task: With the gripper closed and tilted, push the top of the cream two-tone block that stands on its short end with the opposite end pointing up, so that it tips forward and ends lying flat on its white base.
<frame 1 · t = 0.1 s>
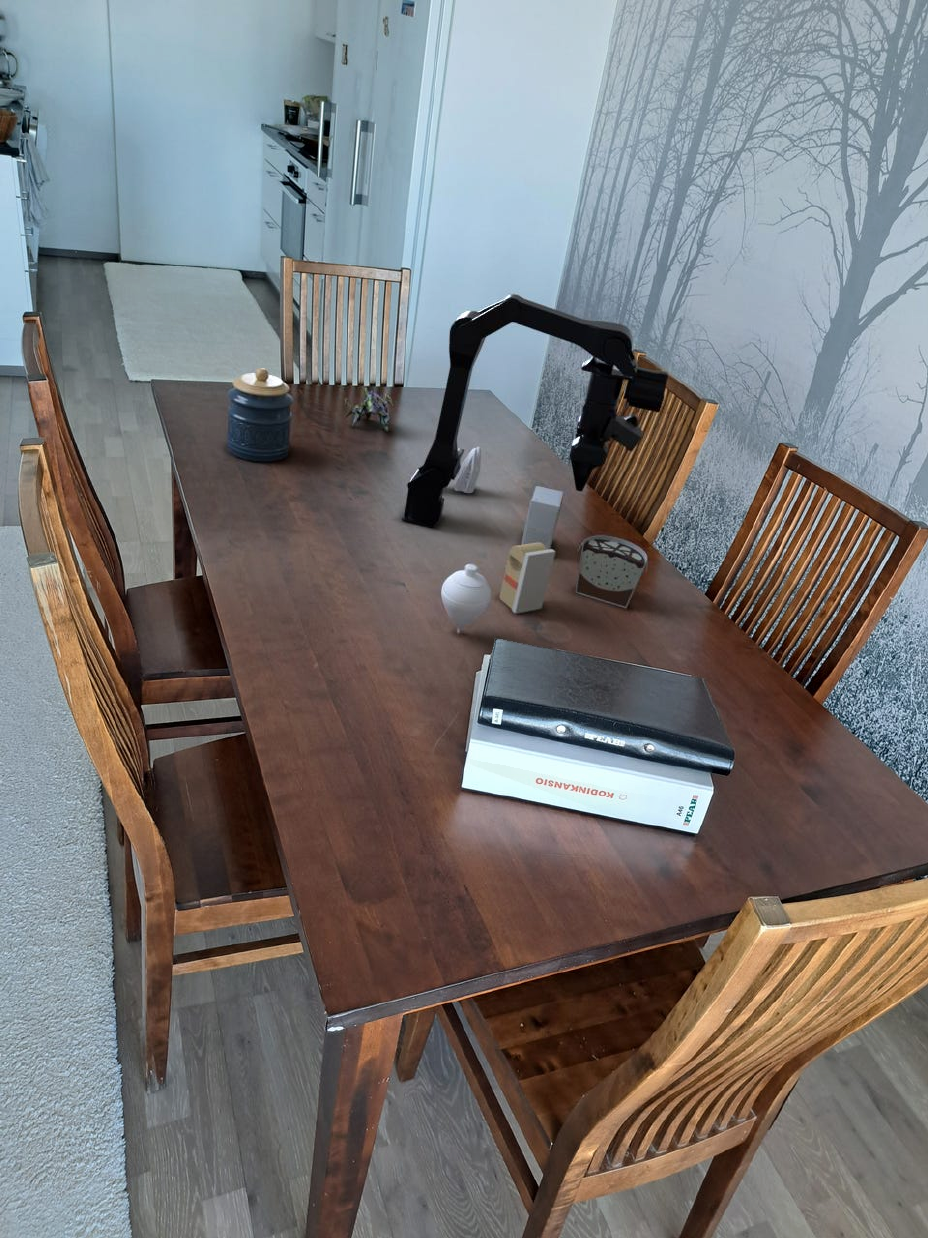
hand: (580, 481, 166), 15 cm above the table, tool pointing down, fingers open, 9 cm apart
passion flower: (367, 429, 214), on the table
spinning top: (458, 634, 142), on the table
shaker set: (448, 490, 190), on the table
canister: (257, 451, 191), on the table
small box: (536, 546, 174), on the table
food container: (603, 594, 162), on the table
cream two-tone block: (519, 603, 153), on the table
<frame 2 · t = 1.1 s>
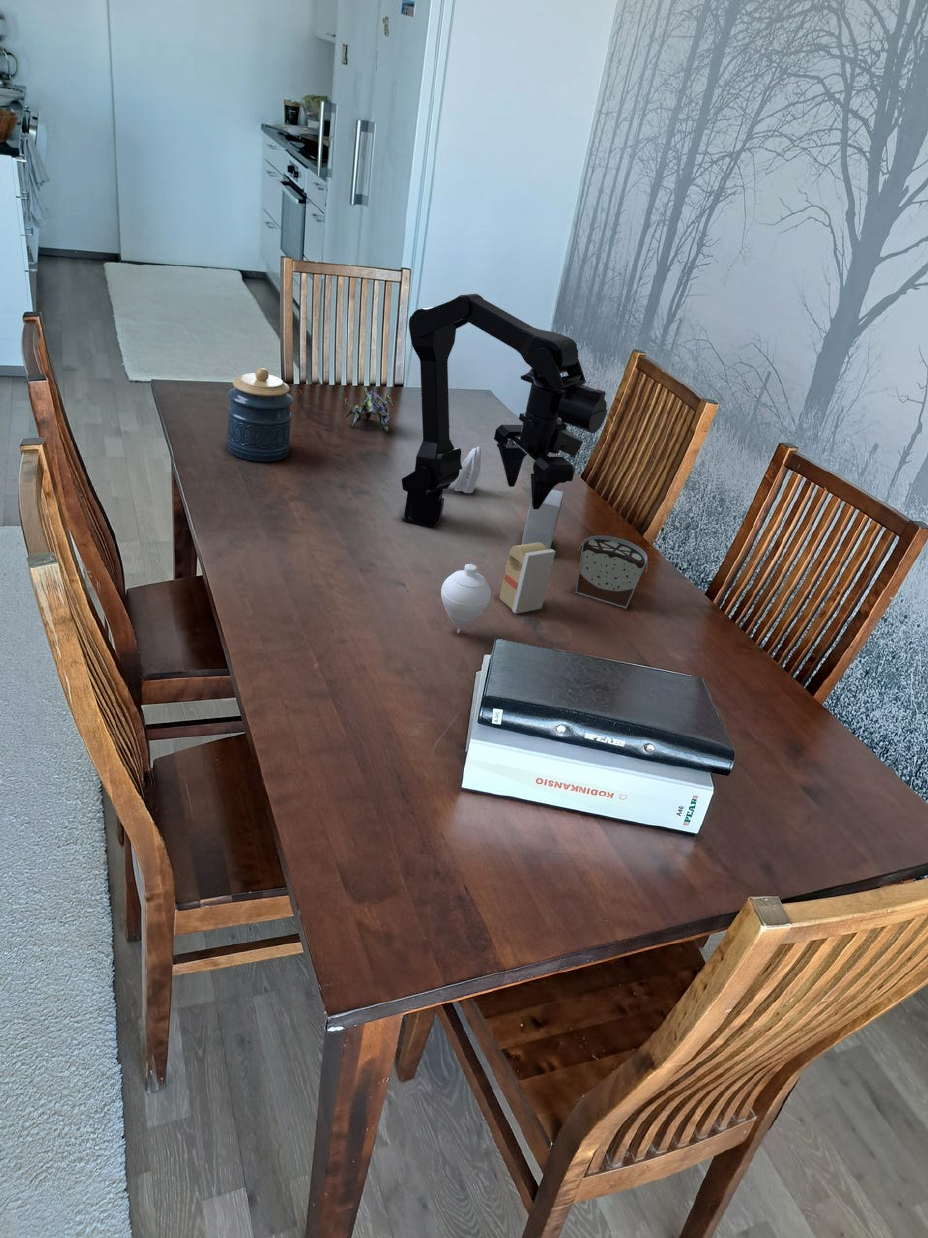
hand: (523, 497, 160), 13 cm above the table, tool pointing down, fingers open, 9 cm apart
nothing on the table moved.
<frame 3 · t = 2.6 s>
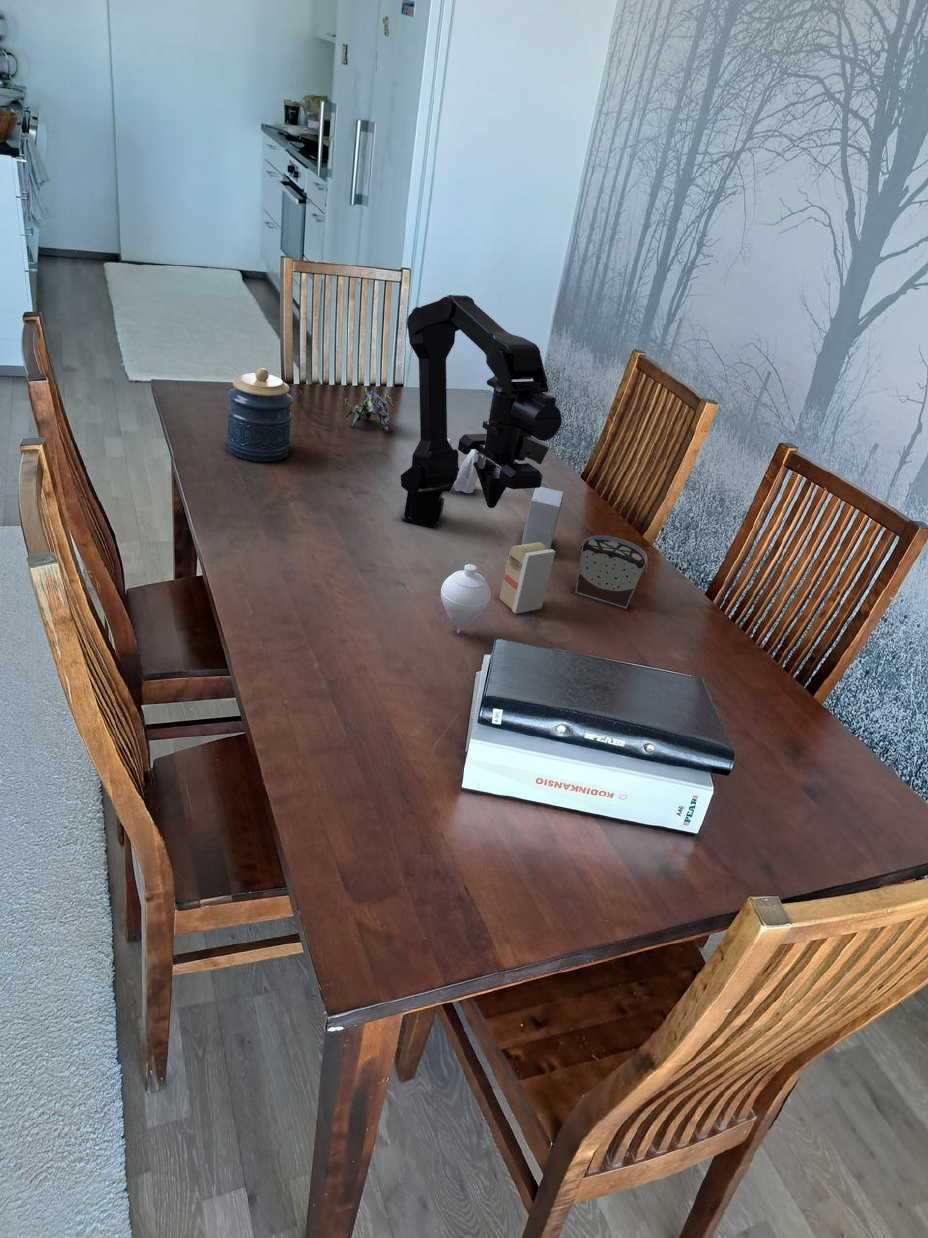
hand: (490, 507, 156), 12 cm above the table, tool pointing down, fingers closed
nothing on the table moved.
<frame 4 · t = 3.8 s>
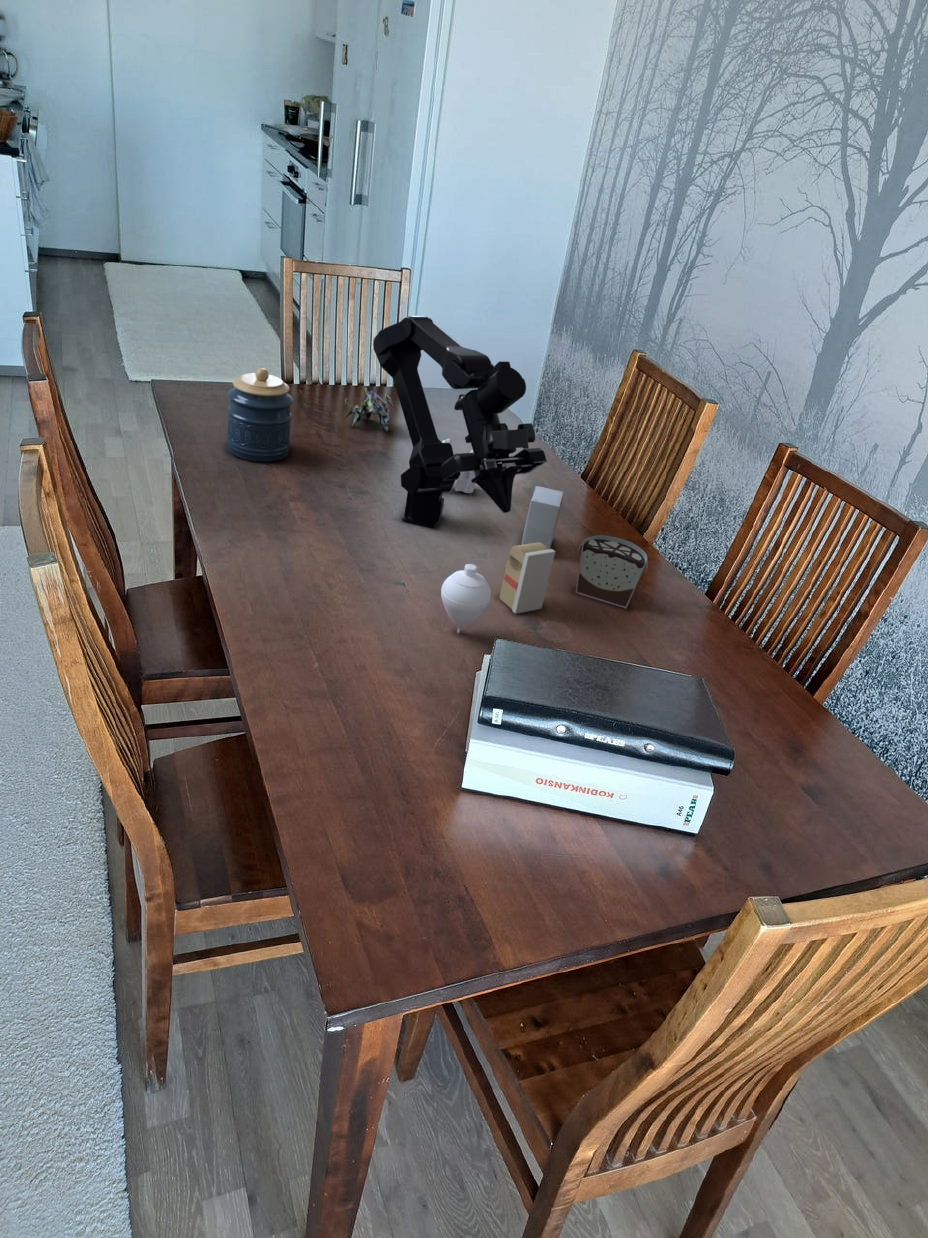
hand: (507, 512, 152), 13 cm above the table, tool tilted 45°, fingers closed
nothing on the table moved.
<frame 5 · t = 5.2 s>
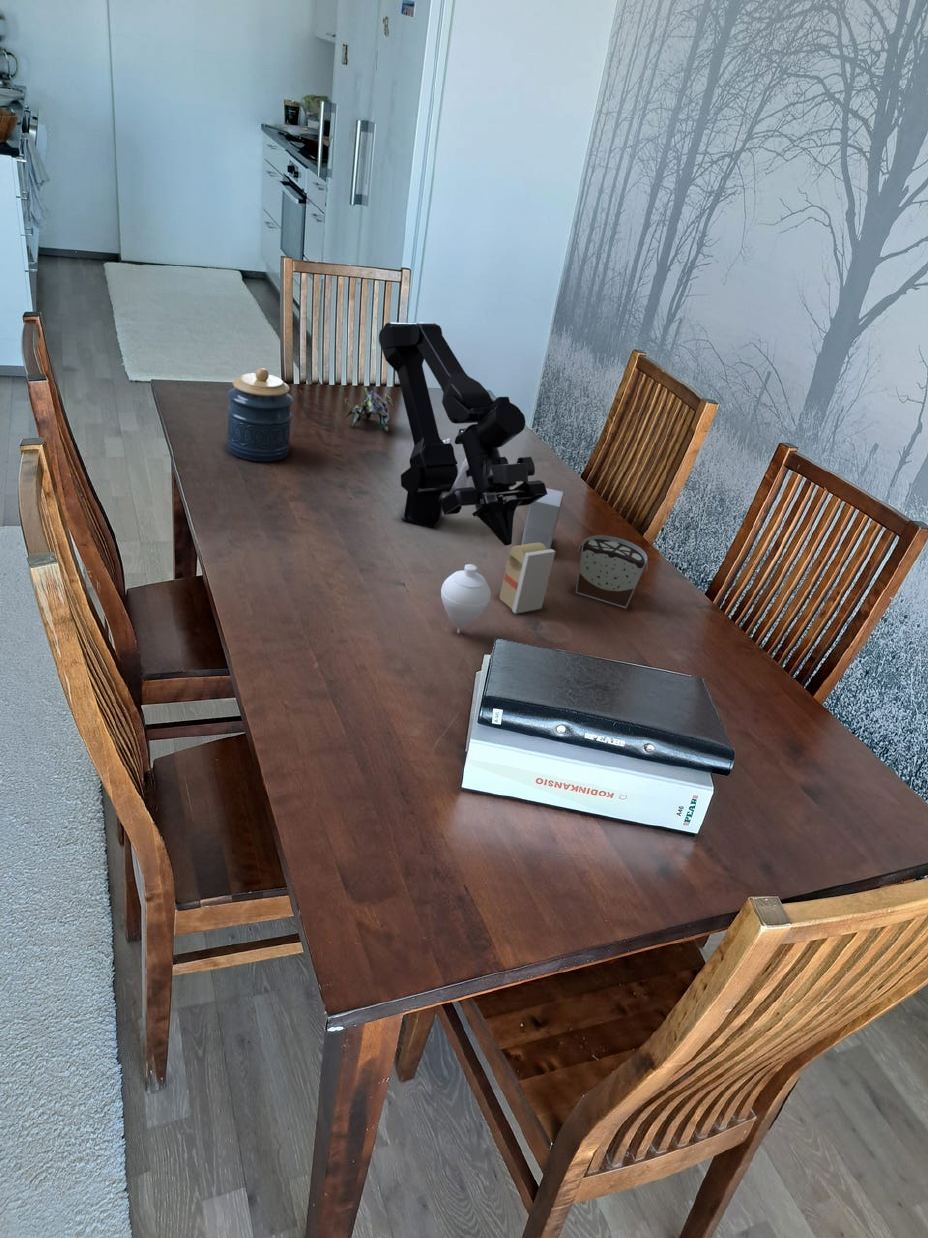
hand: (508, 544, 153), 8 cm above the table, tool tilted 45°, fingers closed
nothing on the table moved.
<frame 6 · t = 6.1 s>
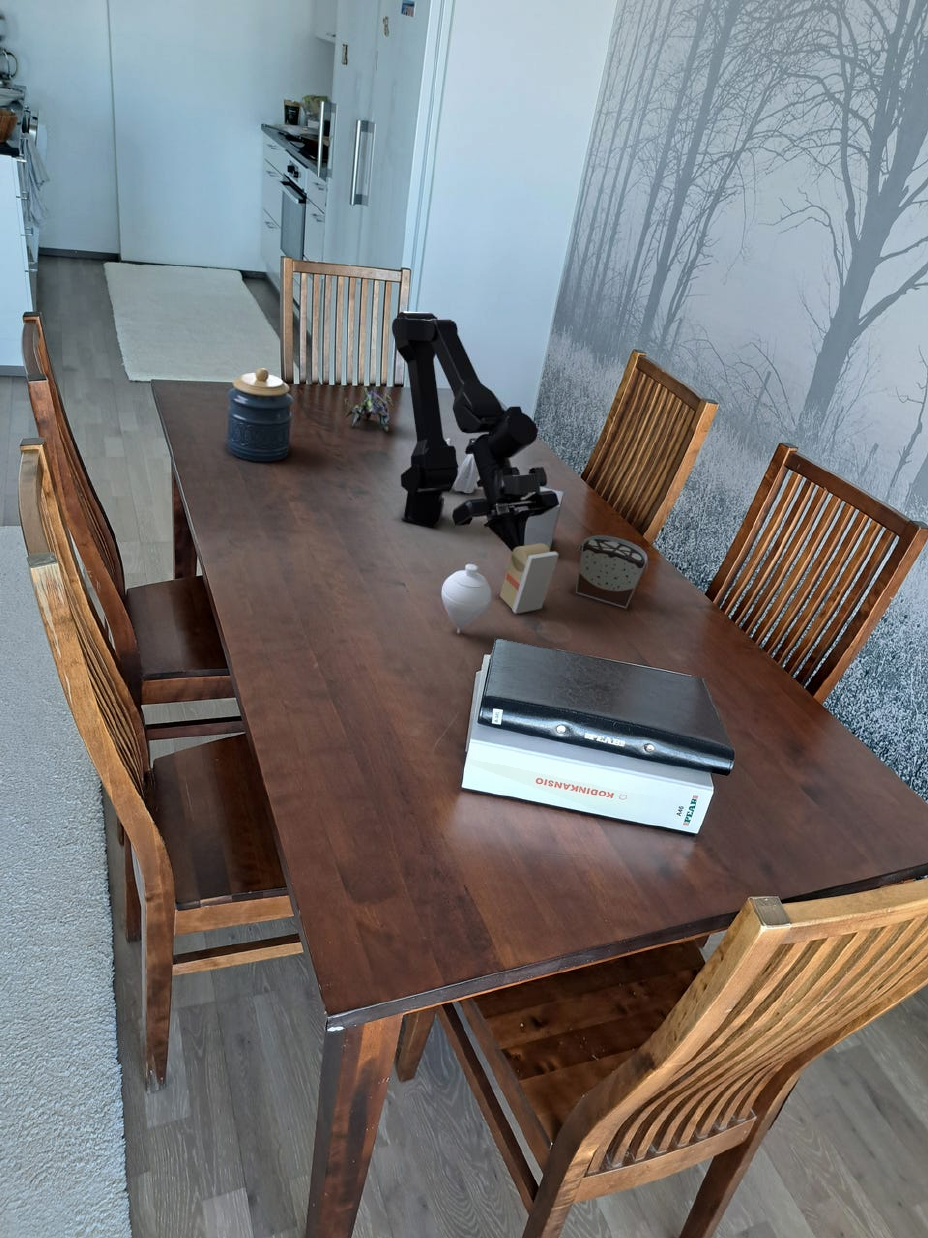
hand: (520, 556, 151), 8 cm above the table, tool tilted 45°, fingers closed
nothing on the table moved.
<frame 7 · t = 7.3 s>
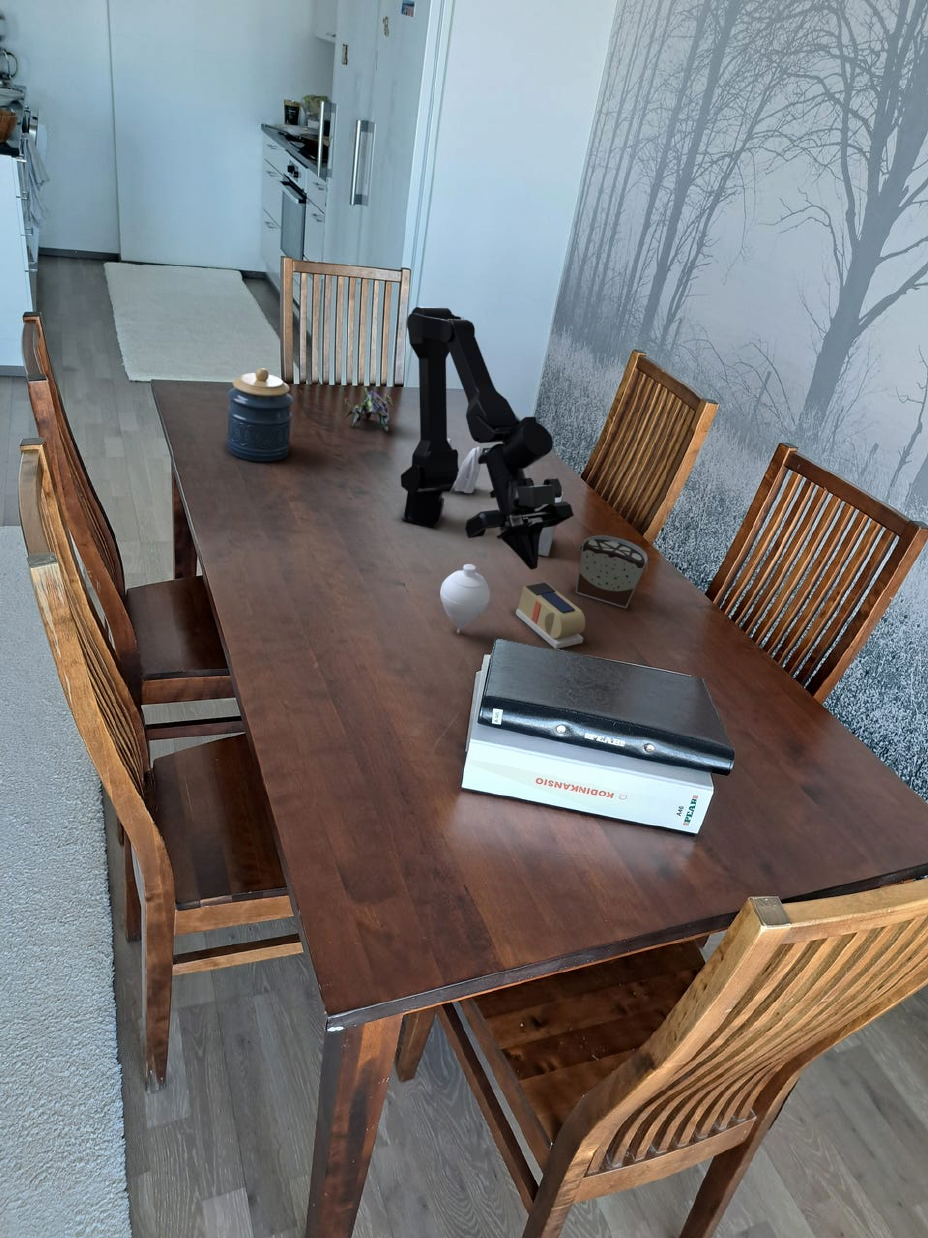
hand: (534, 568, 148), 8 cm above the table, tool tilted 45°, fingers closed
cream two-tone block: (531, 598, 150), point 3 cm above the table, tilted 90°
everything else where it was.
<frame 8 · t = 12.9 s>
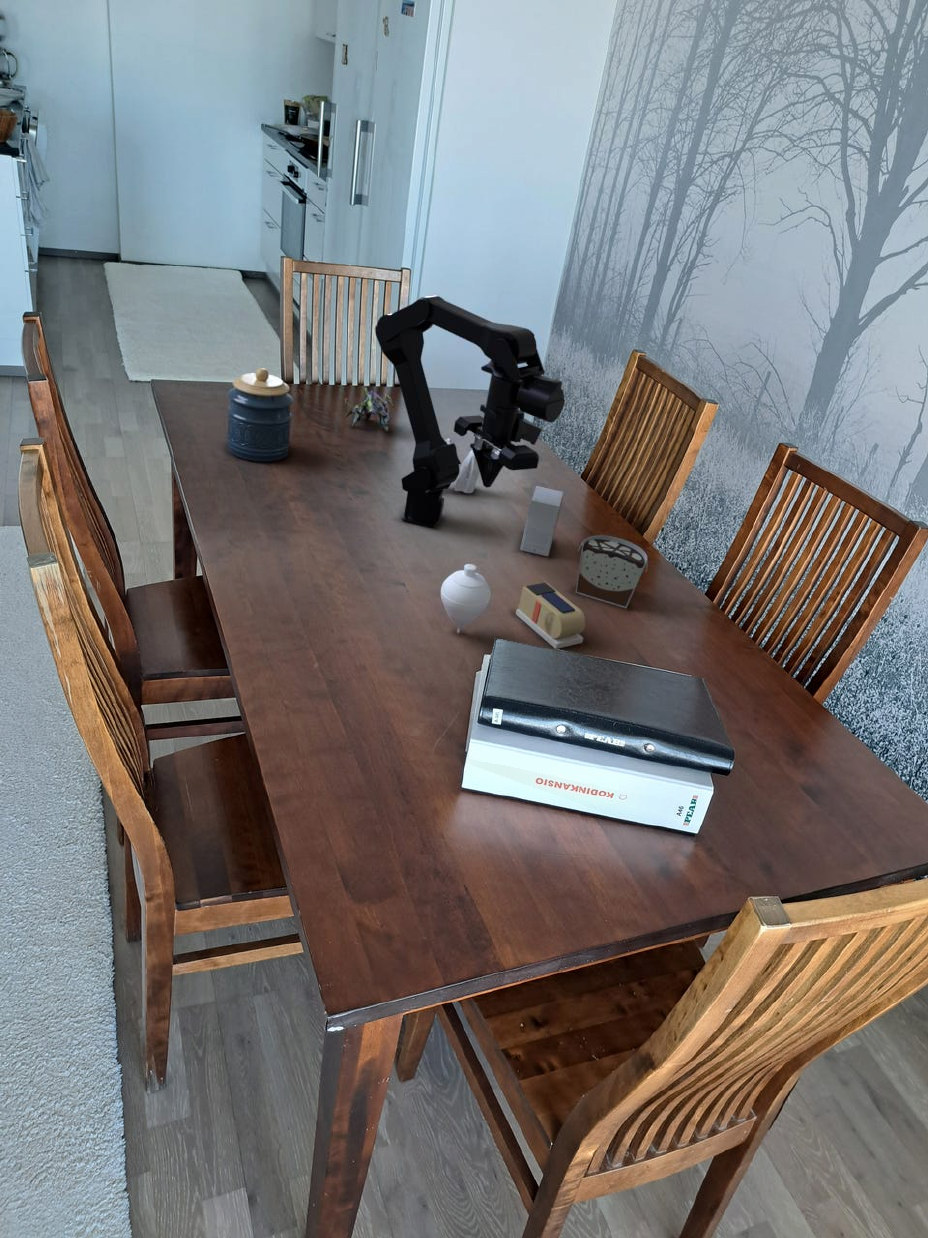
hand: (486, 486, 164), 12 cm above the table, tool pointing down, fingers closed
nothing on the table moved.
at the end: cream two-tone block tilted 90°; cream two-tone block 3.0 cm from the target spot, point 2.6 cm above the table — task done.
